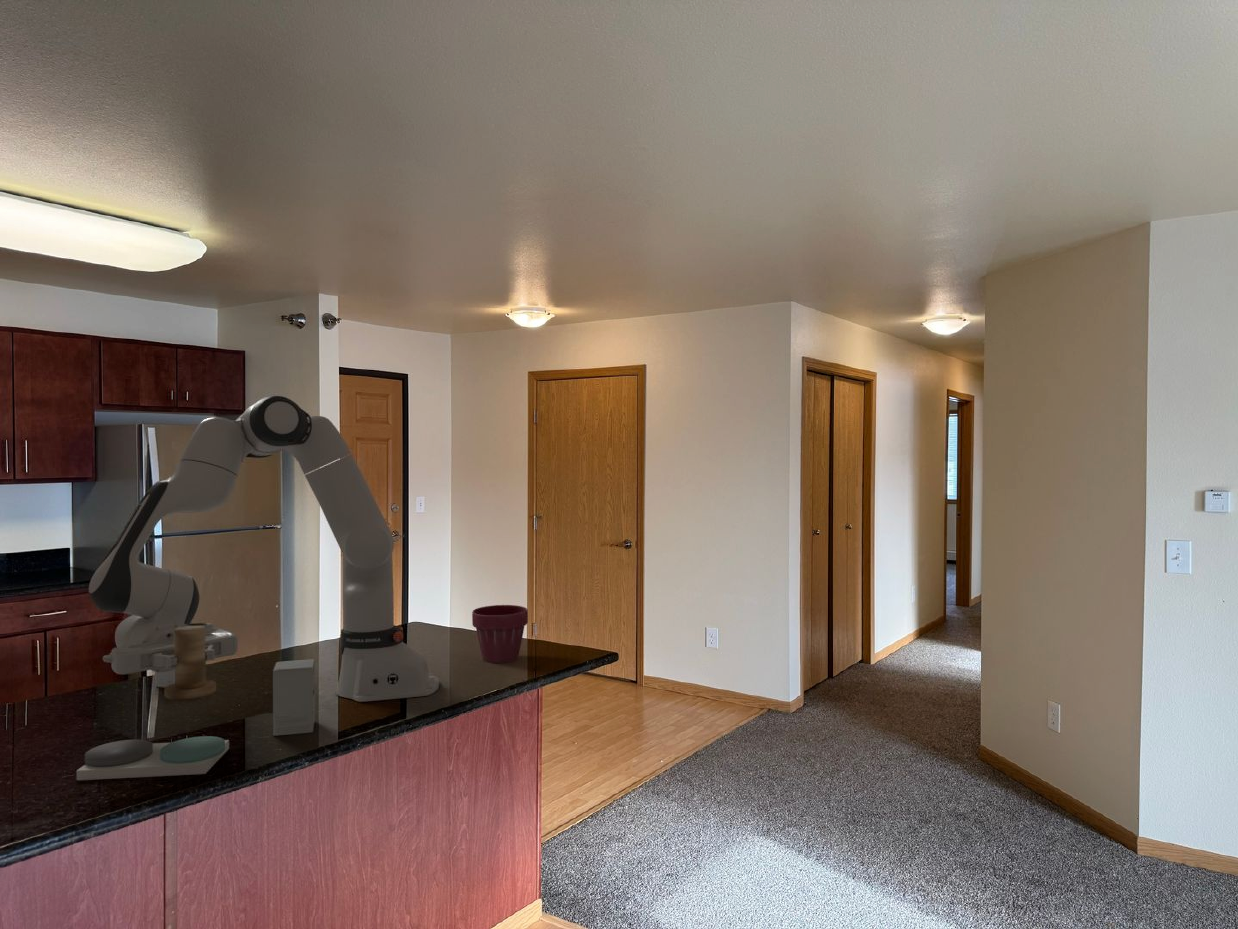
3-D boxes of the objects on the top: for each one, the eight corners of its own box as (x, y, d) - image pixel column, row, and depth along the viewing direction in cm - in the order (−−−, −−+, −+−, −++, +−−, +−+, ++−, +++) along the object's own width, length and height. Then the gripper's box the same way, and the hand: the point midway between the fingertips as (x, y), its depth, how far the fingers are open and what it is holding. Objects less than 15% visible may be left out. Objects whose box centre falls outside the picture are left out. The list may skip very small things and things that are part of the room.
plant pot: (484, 668, 208) (483, 617, 208) (464, 656, 221) (464, 608, 220) (536, 661, 216) (536, 611, 215) (515, 650, 228) (514, 602, 228)
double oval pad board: (234, 748, 153) (234, 733, 153) (211, 773, 141) (211, 756, 141) (105, 754, 150) (104, 739, 150) (70, 780, 138) (69, 763, 138)
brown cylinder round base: (222, 685, 151) (221, 623, 151) (206, 698, 143) (205, 632, 143) (175, 687, 150) (174, 624, 150) (156, 700, 142) (155, 634, 142)
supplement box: (313, 733, 161) (313, 667, 161) (272, 736, 159) (271, 670, 159) (316, 721, 168) (315, 658, 168) (276, 724, 166) (275, 661, 166)
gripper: (98, 639, 147) (125, 651, 138) (219, 621, 162) (250, 631, 153) (99, 675, 147) (125, 690, 138) (219, 654, 162) (250, 666, 153)
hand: (192, 659), depth 146 cm, fingers closed on brown cylinder round base, 5 cm apart
